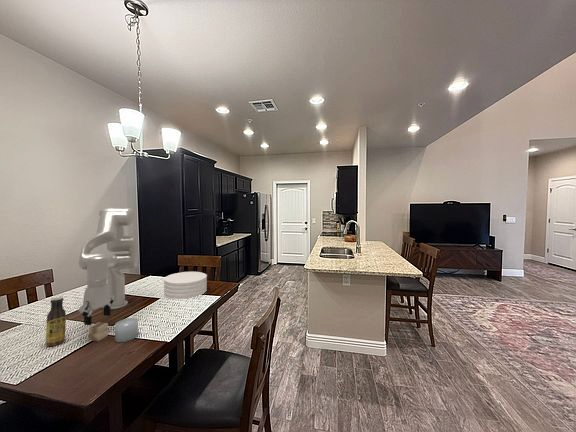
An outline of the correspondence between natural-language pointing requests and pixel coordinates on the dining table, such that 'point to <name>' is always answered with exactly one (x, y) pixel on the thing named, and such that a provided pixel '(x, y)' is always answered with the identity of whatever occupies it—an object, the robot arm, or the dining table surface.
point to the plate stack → (185, 285)
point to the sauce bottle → (56, 323)
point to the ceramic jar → (126, 329)
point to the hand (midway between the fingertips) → (97, 319)
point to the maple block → (98, 331)
